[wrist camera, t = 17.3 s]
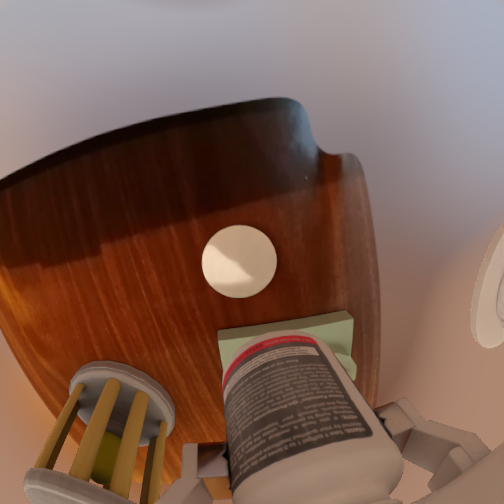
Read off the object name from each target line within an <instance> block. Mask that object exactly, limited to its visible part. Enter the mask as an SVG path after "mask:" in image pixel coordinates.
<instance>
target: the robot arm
mask: <svg viewBox="0 0 504 504" xmlns="http://www.w3.org/2000/svg"><path fill="white" fill-rule="evenodd" d="M497 314H498V316H499V318H500V319H501V320H502V326H503V328H504V275H503V278H502V281H501V284H500V288H499V292H498V297H497ZM372 410H373V411H374V413H375V414H376V416H377V417H378V418H379V419H380V420H381V421H382V423H383V424H384V427H385V429H386V431H387V432H388V434H389V435H390V436H391V438H392V439H393V441H394V442H395V443H396V445H397V446H398V449H399V451H400V453H401V455H402V457H403V458H404V459H406V460H408V461H410V462H412V463H414V464H416V465H418V466H420V467H422V468H424V469H426V470H428V471H430V472H432V473H434V475H433V477H432V478H431V480H430V481H429V483H428V487H429V489H430V490H431V492H432V493H430V494H428V495H426V496H425V497H423V498H421V499H419V500H417V501H415V502H413V503H411V504H504V442H503V443H501V444H500V445H499V446H498V447H497V448H495V449H494V450H493V451H492V452H491V451H490V449H489V448H488V447H487V446H486V445H485V444H484V443H483V442H482V441H481V439H479V437H478V436H477V435H476V434H475V433H470V432H467V431H464V430H460V429H457V428H453V427H450V426H447V425H444V424H440V423H437V422H434V421H431V420H428V421H426V420H425V419H424V418H423V416H422V415H421V414H420V413H419V412H418V411H417V409H416V408H415V407H414V406H413V405H412V404H411V402H410V401H409V400H408V399H407V398H405V397H404V398H402V399H399V400H397V401H394V402H391V403H388V404H386V405H383V406H380V407H377V408H375V409H372ZM222 499H232V492H231V478H230V469H229V462H228V449H227V442H226V441H225V442H209V443H184V445H183V452H182V469H181V479H176V481H175V482H174V483H173V484H172V485H171V486H170V487H169V488H168V490H166V491H165V493H164V494H163V495H162V496H161V497H160V498H159V499H158V500H157V501H156V502H155V503H154V504H212V502H213V500H222Z"/></svg>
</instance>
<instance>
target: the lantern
mask: <svg viewBox="0 0 504 504" xmlns="http://www.w3.org/2000/svg"><path fill="white" fill-rule="evenodd" d="M69 394H70V397H69V399H68V401H67V402H66V404H65V406H64V408H63V410H62V412H61V414H60V415H59V417H58V419H57V421H56V423H55V425H54V427H53V429H52V431H51V433H50V435H49V437H48V439H47V441H46V443H45V445H44V447H43V449H42V451H41V453H40V455H39V458H38V460H37V462H36V464H35V466H34V468H31V469H30V470H29V471H27V473H26V475H25V478H24V481H23V487H24V490H25V494H26V495H27V496H28V498H29V500H30V503H31V504H136V503H134V502H132V501H130V500H128V497H129V491H130V486H131V480H132V475H133V470H134V464H135V459H136V455H137V450H138V446H146V445H149V447H148V452H147V458H146V464H145V470H144V477H143V483H142V490H141V498H140V504H154V503H155V502H156V501H157V500H158V499H159V498H160V487H161V477H162V468H163V459H164V450H165V442H166V437H168V436H169V434H170V433H171V431H172V430H173V428H174V423H175V407H174V404H173V402H172V399H171V397H170V395H169V394H168V393H167V392H166V391H165V389H164V388H163V387H162V386H161V385H160V384H159V383H158V382H157V381H155V380H154V379H153V378H151V377H150V376H149V375H147V374H146V373H144V372H142V371H140V370H138V369H135V368H133V367H131V366H129V365H126V364H122V363H118V362H113V361H93V362H91V363H88V364H86V365H83V366H81V368H80V369H79V370H78V371H77V372H76V373H75V375H74V376H73V378H72V379H71V382H70V388H69ZM77 414H78V415H79V417H80V418H81V419H82V420H83V421H84V422H85V423H86V424H87V428H86V431H85V433H84V436H83V438H82V441H81V443H80V446H79V448H78V451H77V453H76V456H75V459H74V461H73V464H72V467H71V470H70V472H69V475H67V474H65V473H62V472H58V471H54V470H53V467H54V464H55V462H56V460H57V457H58V455H59V452H60V450H61V448H62V446H63V444H64V441H65V439H66V437H67V435H68V432H69V430H70V428H71V426H72V424H73V422H74V419H75V417H76V415H77ZM90 478H91V479H92V480H93V481H94V482H96V483H98V484H103V488H101V487H98V486H96V485H94V484H91V483H89V480H90Z"/></svg>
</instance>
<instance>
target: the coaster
mask: <svg viewBox="0 0 504 504" xmlns="http://www.w3.org/2000/svg"><path fill="white" fill-rule="evenodd" d="M276 264H277V257H276V252H275V249H274V246H273V244H272V243H271V241H270V240H269V238H268V237H267V236H266V235H265V234H264V233H263V232H261V231H260V230H258V229H256V228H254V227H251V226H248V225H232V226H228V227H225V228H223V229H221V230H219V231H218V232H216V233H215V234H214V235H213V236H212V237H211V238H210V239H209V241H208V242H207V244H206V246H205V248H204V251H203V256H202V269H203V273H204V276H205V278H206V280H207V281H208V283H209V284H210V285H211V286H212V287H213V288H214V289H215V290H216V291H218V292H219V293H221V294H223V295H225V296H228V297H233V298H244V297H249V296H252V295H254V294H256V293H258V292H260V291H261V290H262V289H264V288H265V287H266V286H267V285H268V284H269V282H270V281H271V279H272V278H273V275H274V273H275V270H276Z"/></svg>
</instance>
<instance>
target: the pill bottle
mask: <svg viewBox="0 0 504 504" xmlns="http://www.w3.org/2000/svg"><path fill="white" fill-rule="evenodd" d="M222 390H223V403H224V415H225V427H226V438H227V449H228V462H229V469H230V478H231V492H232V500H233V504H402V501H401V500H398V499H390V497H389V495H390V494H391V493H392V491H393V490H394V489H395V488H396V486H397V485H398V483H399V481H400V479H401V477H402V474H403V469H404V463H403V457H402V455H401V453H400V451H399V449H398V446H397V445H396V443H395V442H394V441H393V439H392V438H391V436H390V435H389V434H388V432H387V431H386V429H385V427H384V424H383V423H382V421H381V420H380V419H379V418H378V417H377V416H376V414H375V413H374V411H373V410H372V408H371V407H370V405H369V404H368V402H367V401H366V400H365V398H364V397H363V395H362V394H361V392H360V391H359V389H358V387H357V386H356V385H355V383H354V382H353V380H352V379H351V377H350V376H349V374H348V373H347V372H346V370H345V369H344V367H343V366H342V364H341V363H340V361H339V360H338V358H337V357H336V356H335V354H334V353H333V352H332V350H331V349H330V348H329V347H328V345H327V344H326V343H325V342H323V341H322V340H321V339H320V338H318V337H316V336H315V335H312V334H310V333H307V332H303V331H299V330H283V331H275V332H269V333H266V334H263V335H260V336H257V337H255V338H253V339H252V340H250V341H249V342H247V343H245V344H244V345H242V346H241V347H240V348H239V349H238V350H237V351H236V352H235V353H234V354H233V355H232V356H231V358H230V359H229V361H228V362H227V365H226V367H225V369H224V372H223V379H222Z"/></svg>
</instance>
